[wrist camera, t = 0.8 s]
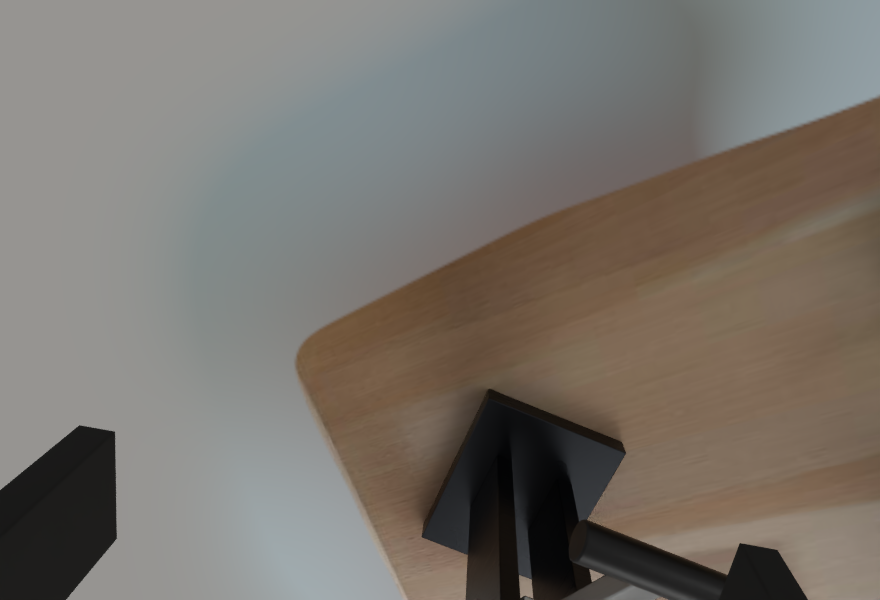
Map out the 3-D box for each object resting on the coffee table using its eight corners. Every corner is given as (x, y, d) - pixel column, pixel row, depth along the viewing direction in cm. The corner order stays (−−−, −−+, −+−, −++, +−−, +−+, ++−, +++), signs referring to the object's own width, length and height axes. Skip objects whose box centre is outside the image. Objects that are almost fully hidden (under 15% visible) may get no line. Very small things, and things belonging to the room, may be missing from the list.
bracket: (488, 388, 39) (488, 539, 26) (622, 442, 40) (687, 616, 27) (423, 524, 43) (394, 717, 30) (546, 572, 43) (571, 782, 30)
